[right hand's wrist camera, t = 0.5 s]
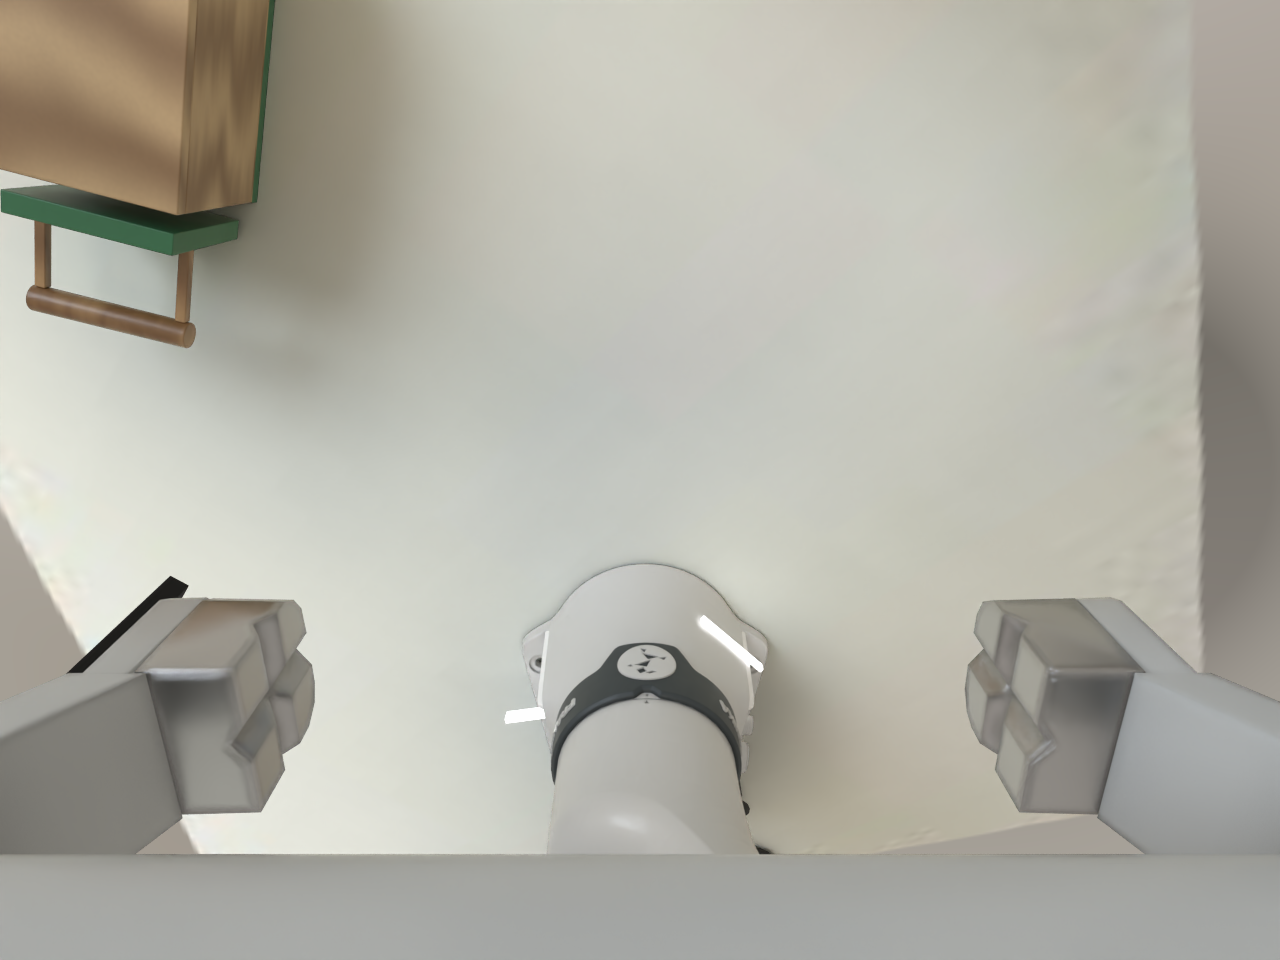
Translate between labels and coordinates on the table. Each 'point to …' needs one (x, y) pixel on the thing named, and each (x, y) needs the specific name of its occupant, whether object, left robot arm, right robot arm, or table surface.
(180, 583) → the left robot arm
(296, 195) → the table surface
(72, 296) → the drawer
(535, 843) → the table surface
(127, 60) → the tan storage bin
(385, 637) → the table surface
